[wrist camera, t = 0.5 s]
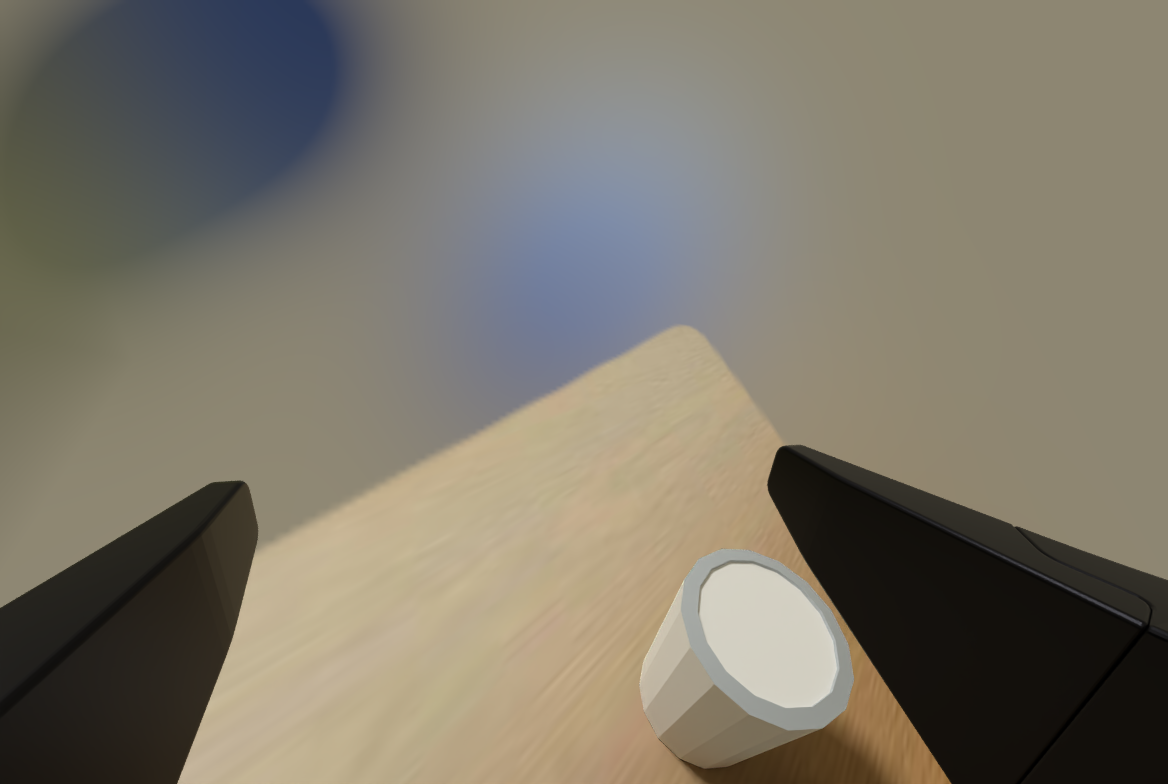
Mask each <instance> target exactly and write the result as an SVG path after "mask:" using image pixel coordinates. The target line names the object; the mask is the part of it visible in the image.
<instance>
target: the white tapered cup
mask: <svg viewBox="0 0 1168 784" xmlns="http://www.w3.org/2000/svg"><path fill="white" fill-rule="evenodd" d="M853 681H854V676H853V670H852V664H851V658H850V652H849V645H848V643H847V641H846V639H845V637H844V635H843V633H842V631H841V629H840V627H839V625H838V623H837V621H836V619H835V617H834V615H833V613H832V611H831V610H830V608H829V607H828V606H827V605H826V604H825V603H824V601H823V600H822V599H821V598H820V597H819V596H818V594H817V593H816V592H815V591H814V590H813V589H812V587H811V586H810V585H809V584H808V583H807V582H806V581H805V580H803V579H802V578H801V577H799V576H798V575H797V574H795V573H794V572H792V571H791V570H790V569H788V568H787V567H786V566H784V565H783V564H782V563H780V562H779V561H776V560H774V559H771V558H769V557H766V556H763V555H761V554H758V553H756V552H753V551H751V550H738V549H720V550H718V551H716V552H713V553H711V554H709V555H706V556H704V557H702V558H700V559H699V560H698V561H697V562H696V564H695V565H694V567H693V568H692V569H691V571H690V572H689V574H688V575H687V576H686V578H685V579H684V581H683V583H682V585H681V587H680V589H679V591H678V593H677V595H676V597H675V599H674V601H673V603H672V605H671V607H670V609H669V611H668V613H667V615H666V617H665V619H664V621H663V623H662V625H661V627H660V629H659V631H658V633H657V635H656V637H655V639H654V641H653V643H652V645H651V647H650V649H649V651H648V653H647V655H646V657H645V659H644V661H643V666H642V672H641V678H640V684H639V686H640V692H641V697H642V703H643V708H644V712H645V714H646V716H647V718H648V720H649V722H650V724H651V726H652V727H653V729H654V731H655V733H656V735H657V737H658V738H659V739H660V740H661V741H662V742H663V743H664V744H665V745H666V746H667V747H668V748H669V749H670V750H671V751H672V752H673V753H674V754H675V755H676V756H677V757H678V758H679V759H682V760H684V761H686V762H689V763H691V764H694V765H696V766H698V767H701V768H703V769H708V768H721V767H728V766H731V765H733V764H736V763H738V762H741V761H743V760H746V759H748V758H751V757H753V756H756V755H758V754H761V753H763V752H766V751H768V750H770V749H773V748H775V747H778V746H780V745H783V744H785V743H788V742H790V741H793V740H795V739H798V738H800V737H803V736H805V735H808V734H810V733H813V732H815V731H817V730H820V729H822V728H824V727H825V726H826V725H827V724H829V723H830V722H831V721H832V720H834V719H835V718H836V717H837V716H838V715H840V714H841V713H842V712H843V711H845V710H846V707H847V703H848V699H849V696H850V692H851V689H852V685H853Z"/></svg>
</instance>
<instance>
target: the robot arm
mask: <svg viewBox="0 0 1168 784" xmlns="http://www.w3.org/2000/svg"><path fill="white" fill-rule="evenodd" d="M767 486H768V491H769V494H770V496H771V498H772V500H773V502H774V504H775V506H776V508H777V509H778V511H779V513H780V515H781V517H782V519H783V521H784V523H785V525H786V526H787V528H788V530H789V532H790V534H791V536H792V538H793V540H794V541H795V543H796V545H797V547H798V549H799V551H800V553H801V554H802V556H803V558H804V560H805V561H806V563H807V565H808V566H809V568H810V569H811V571H812V572H813V574H814V575H815V577H816V579H817V580H818V582H819V583H820V585H821V586H822V588H823V589H824V591H825V592H826V594H827V595H828V597H829V598H830V600H831V601H832V603H833V604H834V606H835V607H836V609H837V610H838V612H839V613H840V615H841V617H842V618H843V620H844V621H845V623H846V624H847V626H848V627H849V629H850V630H851V632H852V633H853V635H854V636H855V638H856V639H857V641H858V642H859V644H860V645H861V647H862V648H863V650H864V651H865V653H866V654H867V656H868V658H869V659H870V661H871V662H872V664H873V665H874V667H875V668H876V670H877V671H878V673H879V674H880V676H881V677H882V679H883V680H884V682H885V683H886V685H887V686H888V688H889V689H890V691H891V692H892V694H893V696H894V697H895V699H896V700H897V702H898V703H899V705H900V706H901V708H902V709H903V711H904V712H905V714H906V715H907V717H908V718H909V720H910V721H911V723H912V724H913V726H914V727H915V729H916V730H917V732H918V733H919V735H920V737H921V738H922V740H923V741H924V743H925V744H926V746H927V747H928V749H929V750H930V752H931V753H932V755H933V756H934V758H935V759H936V761H937V762H938V764H939V765H940V767H941V768H942V770H943V771H944V773H945V774H946V776H947V778H948V779H949V781H950V782H951V784H1168V580H1166V579H1163V578H1159V577H1157V576H1154V575H1151V574H1148V573H1145V572H1142V571H1139V570H1136V569H1133V568H1131V567H1128V566H1125V565H1122V564H1119V563H1116V562H1113V561H1111V560H1108V559H1104V558H1102V557H1099V556H1096V555H1093V554H1091V553H1087V552H1085V551H1082V550H1079V549H1077V548H1074V547H1071V546H1069V545H1066V544H1063V543H1060V542H1058V541H1055V540H1052V539H1050V538H1047V537H1044V536H1041V535H1039V534H1036V533H1034V532H1031V531H1028V530H1026V529H1023V528H1020V527H1013V526H1012V525H1011V524H1009V523H1007V522H1004V521H1001V520H999V519H996V518H993V517H991V516H988V515H986V514H983V513H980V512H978V511H975V510H972V509H969V508H967V507H964V506H962V505H959V504H956V503H954V502H951V501H948V500H946V499H943V498H940V497H938V496H935V495H933V494H930V493H927V492H925V491H922V490H919V489H917V488H914V487H911V486H909V485H906V484H904V483H901V482H898V481H896V480H893V479H890V478H888V477H885V476H882V475H879V474H877V473H874V472H872V471H869V470H866V469H864V468H861V467H858V466H856V465H853V464H851V463H848V462H845V461H842V460H840V459H837V458H835V457H832V456H829V455H826V454H824V453H821V452H818V451H816V450H813V449H811V448H808V447H806V446H803V445H788V446H782V447H780V448H779V449H778V451H777V452H776V455H775V458H774V462H773V465H772V468H771V472H770V475H769V478H768V484H767ZM257 540H258V524H257V520H256V515H255V511H254V507H253V502H252V498H251V494H250V490H249V487H248V485H247V484H246V483H245V482H243V481H225V482H213V483H210V484H208V485H206V486H205V487H203V488H201V489H200V490H198V491H197V492H195V493H193V494H191V495H190V496H188V497H186V498H185V499H183V500H182V501H180V502H178V503H176V504H175V505H173V506H171V507H169V508H168V509H166V510H164V511H163V512H161V513H160V514H158V515H156V516H154V517H153V518H151V519H149V520H148V521H146V522H145V523H143V524H141V525H139V526H138V527H136V528H134V529H133V530H131V531H129V532H127V533H126V534H124V535H122V536H121V537H119V538H117V539H116V540H114V541H113V542H111V543H109V544H108V545H106V546H104V547H102V548H101V549H99V550H97V551H95V552H94V553H92V554H90V555H89V556H87V557H85V558H84V559H82V560H80V561H79V562H77V563H75V564H74V565H72V566H70V567H69V568H67V569H65V570H64V571H62V572H60V573H58V574H57V575H55V576H54V577H52V578H50V579H48V580H47V581H45V582H43V583H42V584H40V585H38V586H37V587H35V588H33V589H31V590H30V591H28V592H26V593H25V594H23V595H21V596H20V597H18V598H16V599H15V600H13V601H11V602H10V603H8V604H6V605H5V606H3V607H1V608H0V784H177V783H178V780H179V778H180V775H181V772H182V770H183V767H184V765H185V762H186V759H187V757H188V754H189V752H190V749H191V746H192V744H193V741H194V739H195V736H196V733H197V731H198V728H199V726H200V723H201V720H202V718H203V715H204V713H205V710H206V707H207V705H208V702H209V700H210V697H211V695H212V692H213V689H214V687H215V684H216V682H217V679H218V676H219V674H220V671H221V669H222V666H223V663H224V661H225V658H226V655H227V653H228V650H229V647H230V644H231V641H232V638H233V635H234V631H235V627H236V624H237V620H238V616H239V612H240V608H241V604H242V600H243V596H244V592H245V588H246V584H247V580H248V576H249V572H250V568H251V565H252V561H253V557H254V553H255V548H256V545H257Z"/></svg>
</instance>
